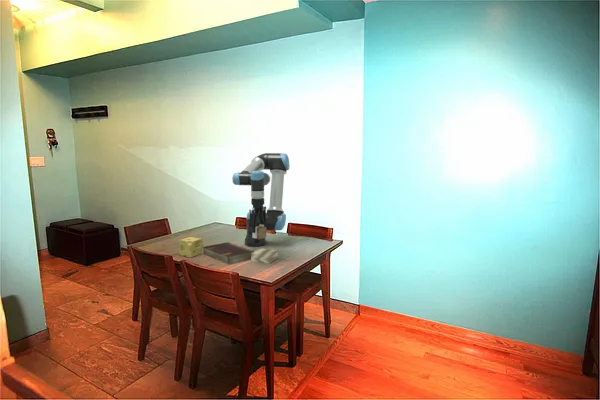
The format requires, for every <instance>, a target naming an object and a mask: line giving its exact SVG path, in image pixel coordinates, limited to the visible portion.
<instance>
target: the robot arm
mask: <svg viewBox="0 0 600 400" xmlns="http://www.w3.org/2000/svg"><path fill="white" fill-rule="evenodd" d="M263 170H269V173H270V174H271V176H270V175H269V174H268V173H267V172H264V171H263ZM287 171H290V159H289V156H288V154H287V153H285V152H284V153H282V152H279V153H278V152H271V153H269V152H265V153H261V154H259V155H257V156H255V157H254V158H253V159H252V160H251V161H250V163H249V164H248V166H246V167H245V168H244V169H242V170H241V171H240V172H234V173H233V174H232V183H233V184H234V185H235V186H250V189H251V190H250V192H251V193H250V196H251V199H250V200H251V201H250V202H251V204H250V205H251V206H252V209H249V211H248V212H247V214H246V234H245V236H246V237H245V239H244V245H245V246H247V247H253V248H254V247H262V246H263V247H264V246H265V244H266V245H267V239H266V238H267V237H265V238H262V239H256V238H257V227H256V226H262V227H266V231H276V232H277V231H282V230H283V229H284V227H285V225H286V220H287V216H286V214H285V213H284V212H285V211H284V210H283V197H284V194H283V193H284V181H285V175H286V174H287ZM270 183H271V184H270ZM268 184H270V195H269V196H270V197H269V207H268V209H267V206H265V186H267V185H268ZM252 234H253V238H252Z"/></svg>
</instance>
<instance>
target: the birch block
mask: <svg viewBox="0 0 600 400" xmlns="http://www.w3.org/2000/svg"><path fill="white" fill-rule="evenodd" d="M254 251H255V252H253V253H251V259H250V261H251V262H254V261H255V263H262V262H264V263H263V264H269V263H270V262H271V263H273V262H274V261H275V260H277V259H278V258H279V250H278V249H271V248H270V249H268V248H258V249H256V250H254ZM277 257H278V258H277ZM276 258H277V259H276ZM273 260H274V261H273ZM272 261H273V262H272ZM271 263H270V264H271Z"/></svg>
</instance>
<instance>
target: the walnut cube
mask: <svg viewBox="0 0 600 400" xmlns="http://www.w3.org/2000/svg"><path fill="white" fill-rule="evenodd" d="M256 227H257V238H256V239H262V238H267V230H266V227H262V226H256ZM252 238H253V234H252Z"/></svg>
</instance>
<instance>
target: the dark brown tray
mask: <svg viewBox="0 0 600 400" xmlns="http://www.w3.org/2000/svg"><path fill="white" fill-rule="evenodd" d="M255 251H256V250H252V249H250V248H247V247H243V246H241V245H237V244H235V243H232V242H222V243H216V244H210V245H206V246H203V249H202V254H204V255H206V256H208V257H210V258H213V259H215V260H217V261H220V262H222V263H224V264H227V265H233V264H237V263H240V262H245V261H249V260H251V253H253V252H255Z"/></svg>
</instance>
